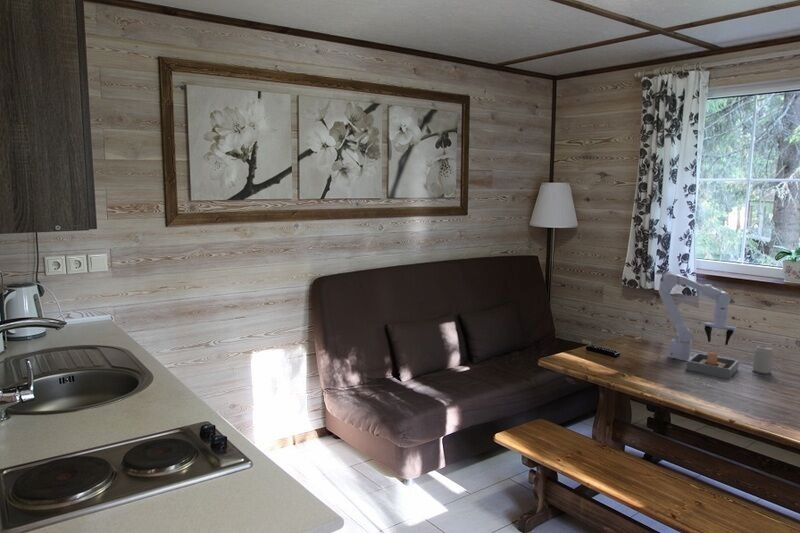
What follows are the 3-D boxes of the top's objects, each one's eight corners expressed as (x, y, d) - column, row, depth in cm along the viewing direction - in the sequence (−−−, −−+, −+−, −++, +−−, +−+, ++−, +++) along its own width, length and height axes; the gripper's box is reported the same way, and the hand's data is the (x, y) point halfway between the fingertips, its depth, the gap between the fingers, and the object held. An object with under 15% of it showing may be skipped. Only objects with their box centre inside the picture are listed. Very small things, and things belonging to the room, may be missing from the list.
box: (686, 370, 278) (687, 360, 277) (696, 361, 291) (697, 352, 291) (729, 379, 266) (730, 369, 266) (737, 369, 280) (738, 360, 279)
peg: (705, 370, 277) (707, 353, 276) (707, 368, 280) (709, 351, 279) (714, 372, 274) (716, 355, 273) (716, 369, 277) (718, 353, 276)
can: (766, 369, 281) (768, 345, 279) (774, 374, 274) (777, 349, 272) (749, 368, 282) (752, 344, 280) (757, 374, 275) (760, 348, 273)
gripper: (702, 314, 290) (699, 341, 292) (735, 320, 281) (732, 347, 283) (705, 312, 296) (703, 339, 298) (738, 317, 286) (735, 344, 288)
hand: (717, 343), depth 291 cm, fingers open, 7 cm apart
